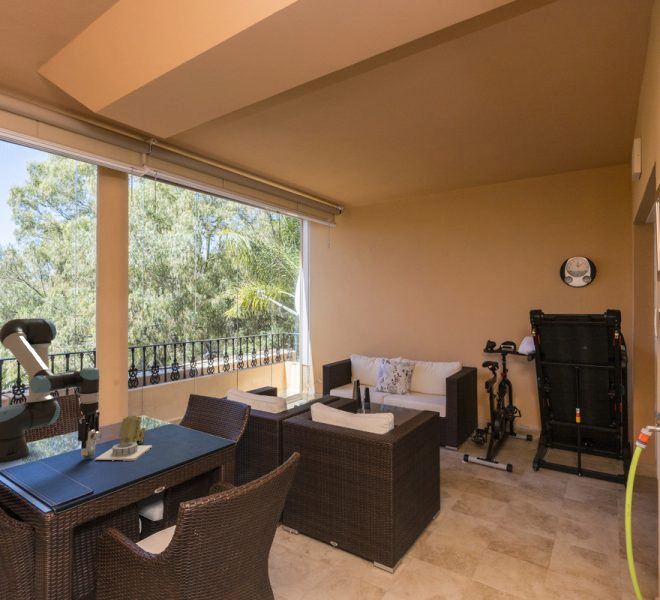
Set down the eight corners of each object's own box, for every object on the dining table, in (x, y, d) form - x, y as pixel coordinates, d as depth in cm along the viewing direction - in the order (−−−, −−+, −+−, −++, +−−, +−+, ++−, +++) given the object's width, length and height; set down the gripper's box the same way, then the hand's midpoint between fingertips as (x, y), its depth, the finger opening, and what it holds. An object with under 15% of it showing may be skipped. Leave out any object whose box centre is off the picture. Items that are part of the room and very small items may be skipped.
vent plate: (95, 460, 186) (95, 452, 186) (116, 447, 204) (116, 439, 204) (134, 460, 186) (134, 451, 186) (152, 447, 204) (152, 439, 204)
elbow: (79, 458, 186) (80, 431, 186) (86, 454, 191) (86, 428, 191) (96, 458, 186) (96, 432, 186) (102, 454, 191) (102, 428, 191)
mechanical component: (145, 455, 214) (153, 415, 222) (127, 451, 198) (137, 409, 207) (131, 454, 214) (139, 415, 223) (112, 451, 199) (122, 409, 207)
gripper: (85, 406, 180) (84, 460, 179) (108, 397, 198) (107, 446, 197) (68, 406, 180) (67, 459, 179) (92, 397, 198) (91, 446, 197)
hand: (88, 452), depth 188 cm, fingers closed on elbow, 5 cm apart
